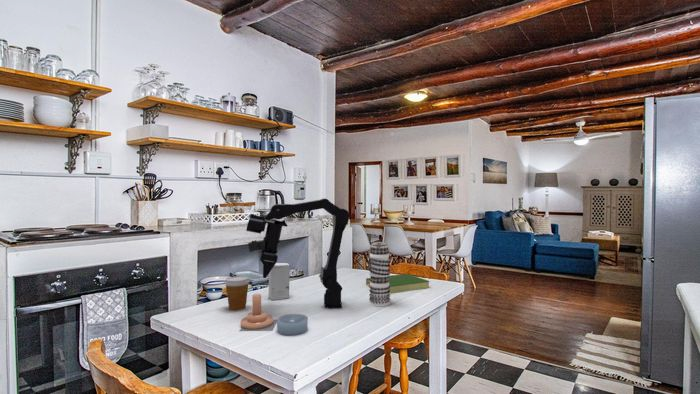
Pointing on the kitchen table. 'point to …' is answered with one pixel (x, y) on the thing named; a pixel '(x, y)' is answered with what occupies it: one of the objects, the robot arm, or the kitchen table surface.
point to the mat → (264, 328)
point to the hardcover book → (404, 283)
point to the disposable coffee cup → (237, 292)
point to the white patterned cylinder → (379, 274)
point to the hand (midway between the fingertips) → (264, 275)
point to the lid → (256, 316)
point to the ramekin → (292, 324)
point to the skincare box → (279, 281)
